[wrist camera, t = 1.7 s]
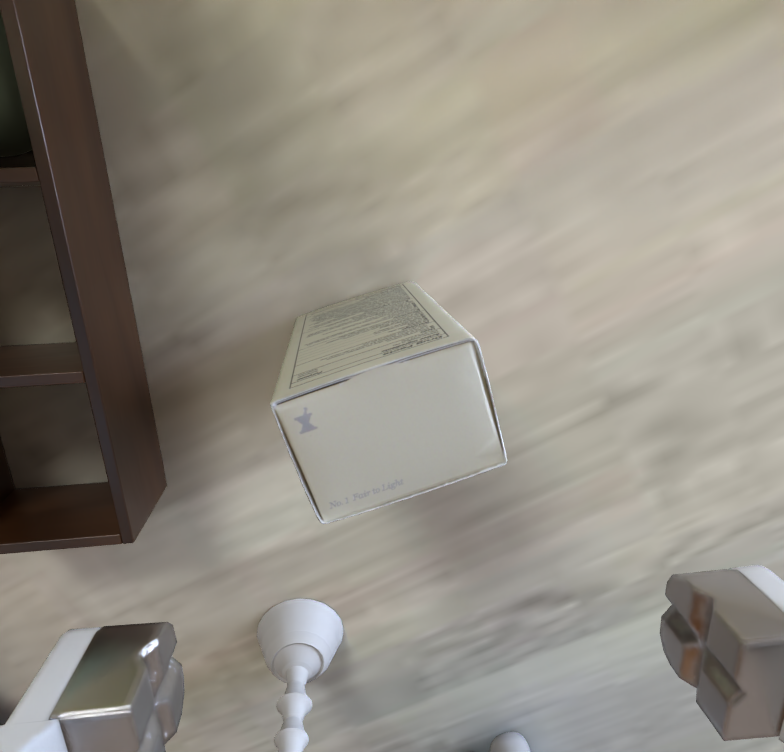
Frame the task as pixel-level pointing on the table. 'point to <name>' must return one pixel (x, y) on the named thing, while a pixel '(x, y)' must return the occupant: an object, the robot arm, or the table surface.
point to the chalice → (298, 659)
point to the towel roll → (10, 105)
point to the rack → (77, 299)
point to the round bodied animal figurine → (509, 743)
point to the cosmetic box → (384, 402)
